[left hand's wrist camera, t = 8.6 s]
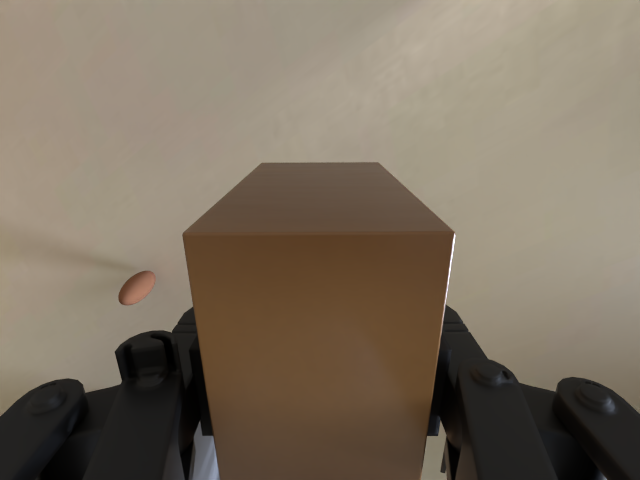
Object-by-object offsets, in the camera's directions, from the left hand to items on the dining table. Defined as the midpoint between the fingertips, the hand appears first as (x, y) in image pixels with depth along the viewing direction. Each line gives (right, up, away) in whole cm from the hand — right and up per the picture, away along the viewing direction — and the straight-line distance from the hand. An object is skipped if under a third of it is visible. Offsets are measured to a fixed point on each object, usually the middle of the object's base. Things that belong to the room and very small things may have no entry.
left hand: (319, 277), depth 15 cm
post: (0, -28, +11) cm, 30 cm away
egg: (-16, -2, +18) cm, 24 cm away
